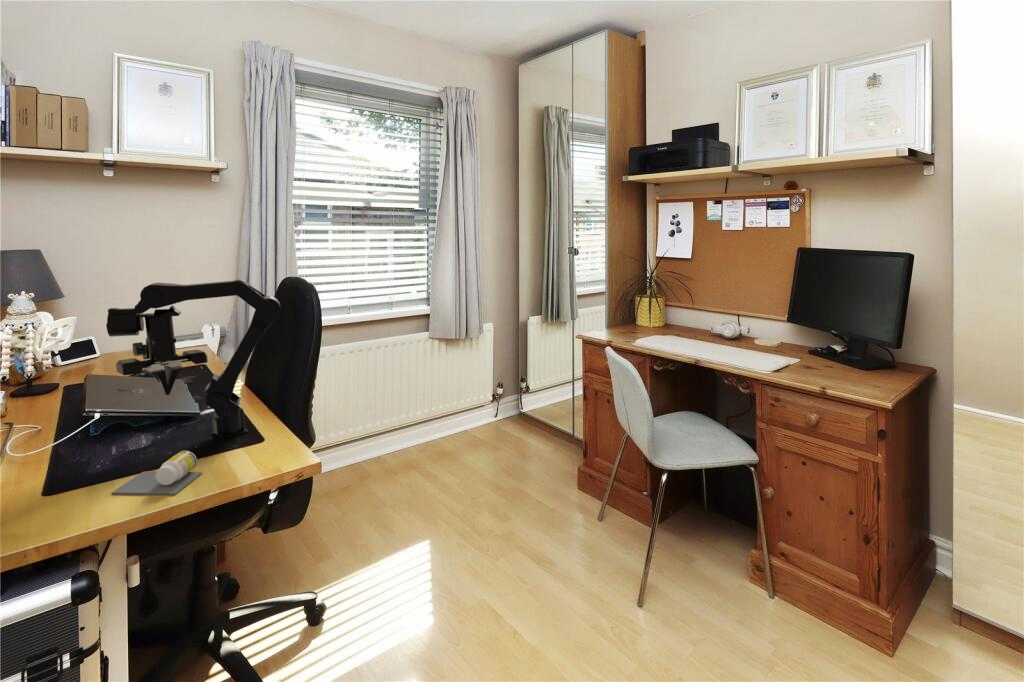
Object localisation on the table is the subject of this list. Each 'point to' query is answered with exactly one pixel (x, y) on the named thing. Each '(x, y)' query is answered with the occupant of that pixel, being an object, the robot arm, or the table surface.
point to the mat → (154, 484)
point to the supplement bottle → (176, 468)
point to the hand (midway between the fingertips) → (167, 394)
